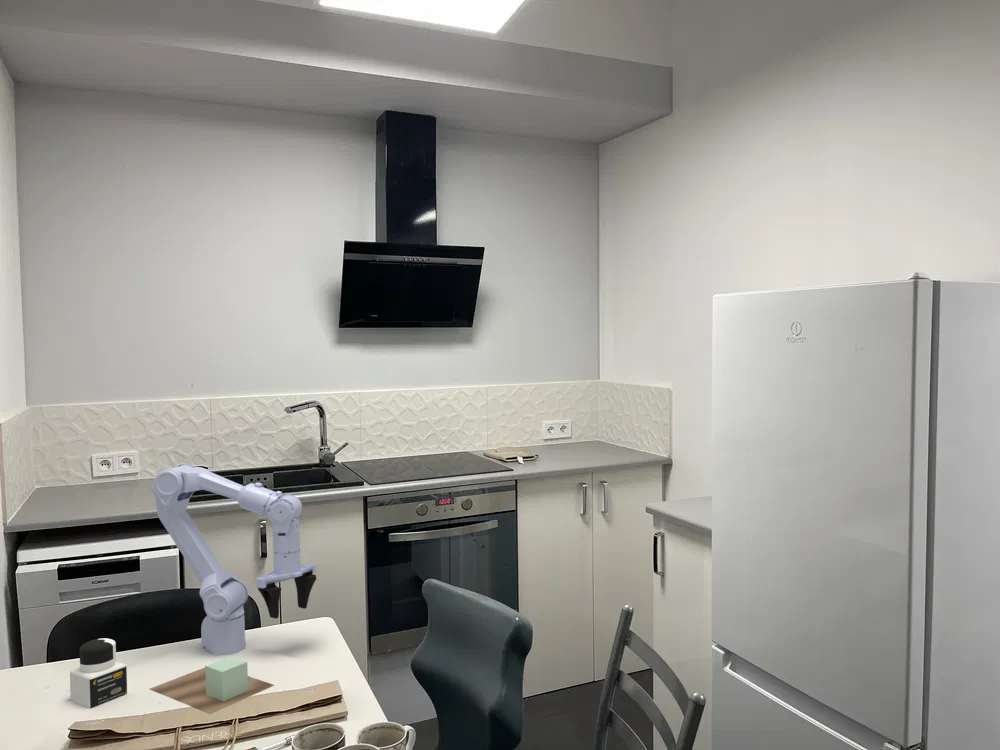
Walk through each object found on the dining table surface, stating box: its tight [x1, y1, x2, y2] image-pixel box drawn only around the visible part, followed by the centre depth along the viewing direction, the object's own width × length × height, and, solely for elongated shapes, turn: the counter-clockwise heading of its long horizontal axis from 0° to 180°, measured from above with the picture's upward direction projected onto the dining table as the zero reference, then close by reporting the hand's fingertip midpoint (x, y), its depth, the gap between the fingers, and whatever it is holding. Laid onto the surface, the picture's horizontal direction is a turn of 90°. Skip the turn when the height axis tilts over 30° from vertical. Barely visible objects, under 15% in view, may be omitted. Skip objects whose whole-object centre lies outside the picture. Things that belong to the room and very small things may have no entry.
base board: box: [149, 667, 275, 715], centre depth 142 cm, size 20×14×4 cm
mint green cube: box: [204, 655, 249, 701], centre depth 139 cm, size 5×5×6 cm
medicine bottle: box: [69, 637, 128, 709], centre depth 139 cm, size 7×7×12 cm
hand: (288, 612), depth 161 cm, fingers open, 7 cm apart
